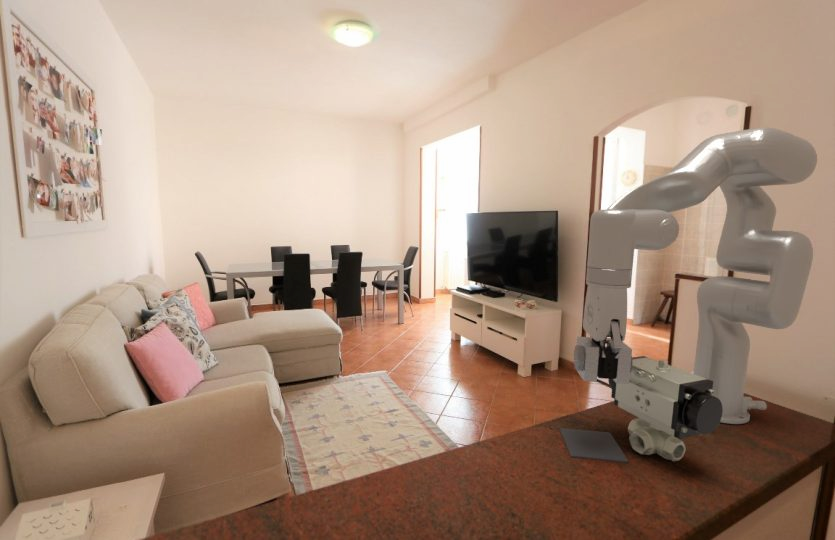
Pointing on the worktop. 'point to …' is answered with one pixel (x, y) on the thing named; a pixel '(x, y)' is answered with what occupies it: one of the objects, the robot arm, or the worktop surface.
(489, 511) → the worktop surface
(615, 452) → the joint mat
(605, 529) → the worktop surface
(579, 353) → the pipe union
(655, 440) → the ball valve
